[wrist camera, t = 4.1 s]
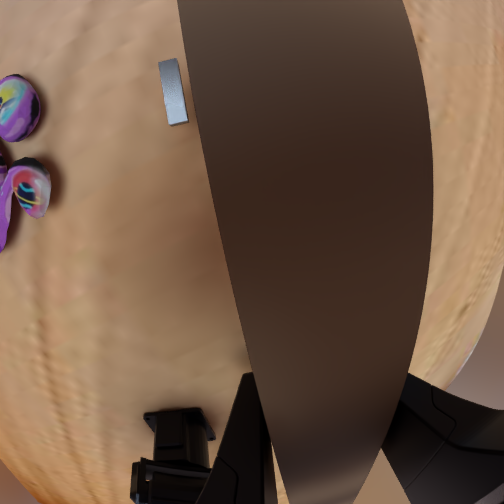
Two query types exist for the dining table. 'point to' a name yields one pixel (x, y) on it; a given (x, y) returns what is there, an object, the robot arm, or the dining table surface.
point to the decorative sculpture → (26, 169)
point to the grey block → (173, 92)
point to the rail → (318, 215)
